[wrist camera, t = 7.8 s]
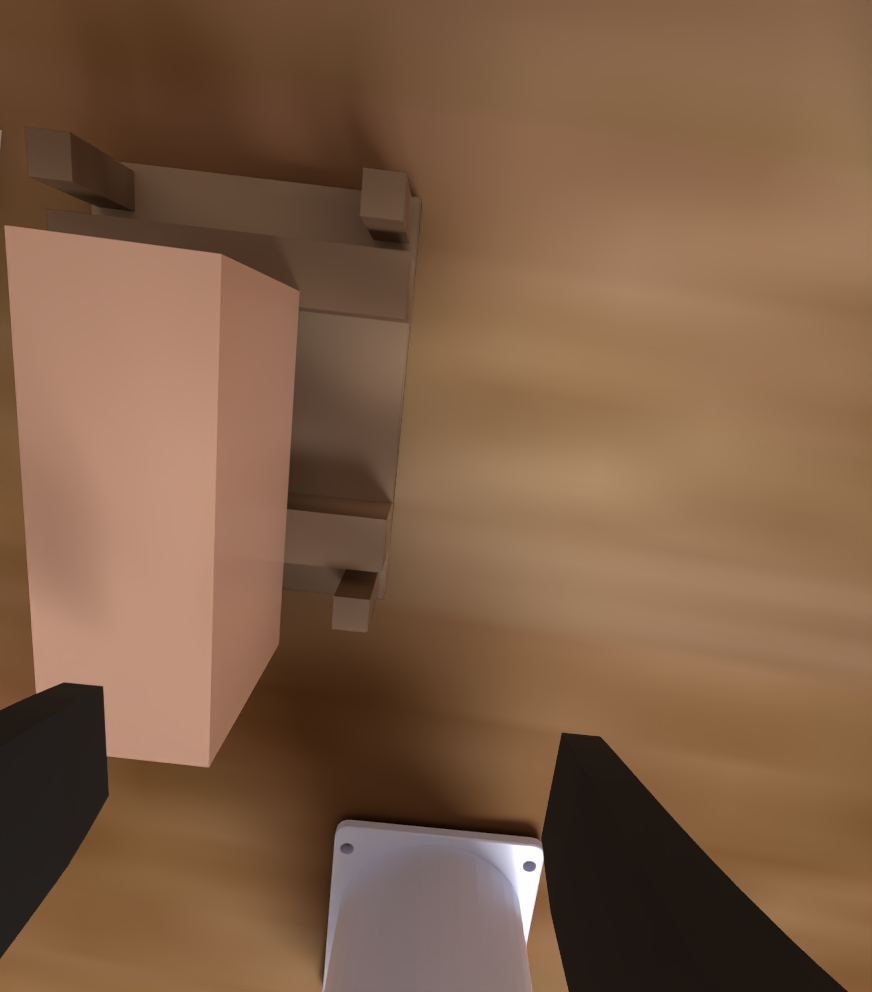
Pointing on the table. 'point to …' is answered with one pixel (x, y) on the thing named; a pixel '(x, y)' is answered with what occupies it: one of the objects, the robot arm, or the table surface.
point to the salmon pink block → (152, 478)
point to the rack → (320, 335)
